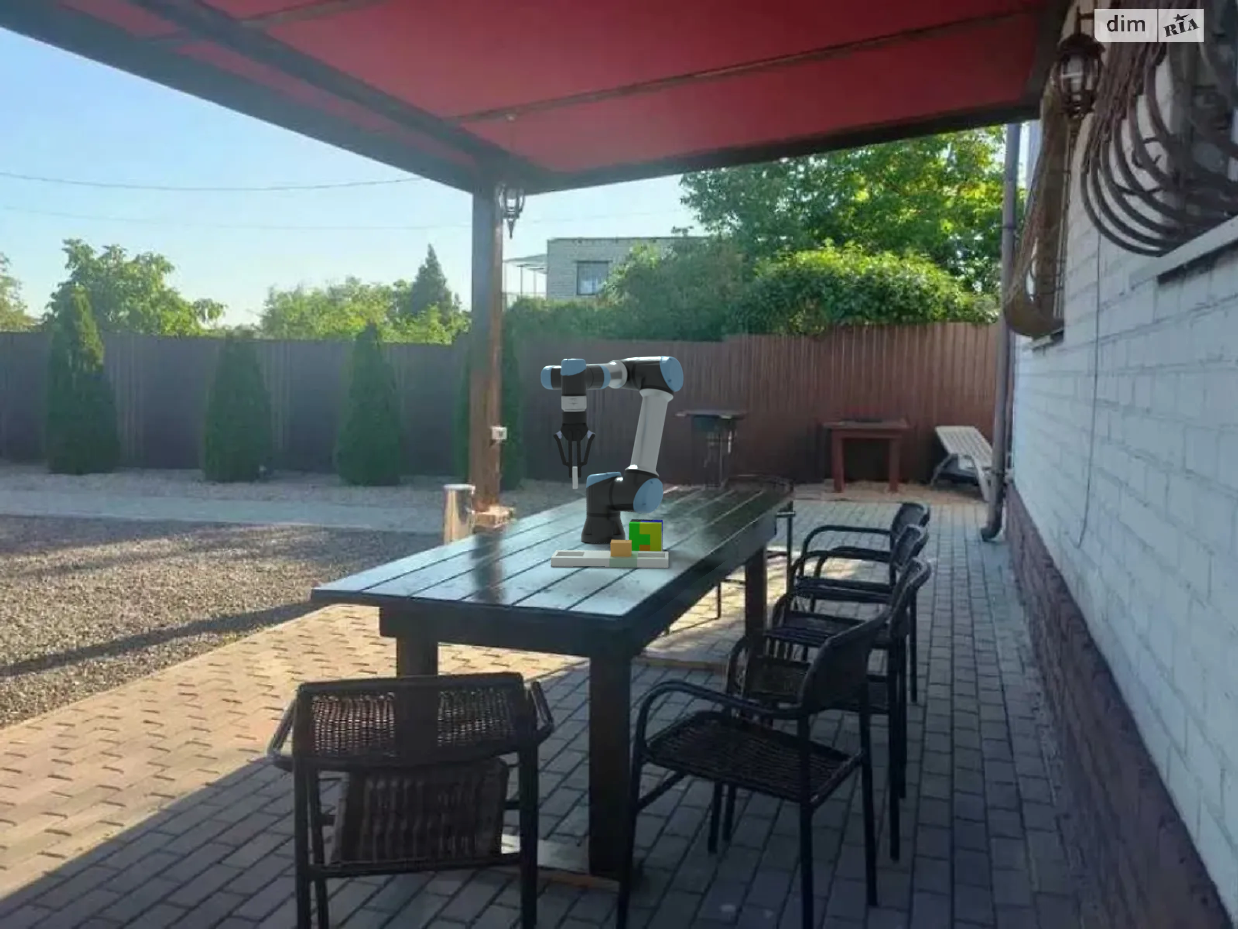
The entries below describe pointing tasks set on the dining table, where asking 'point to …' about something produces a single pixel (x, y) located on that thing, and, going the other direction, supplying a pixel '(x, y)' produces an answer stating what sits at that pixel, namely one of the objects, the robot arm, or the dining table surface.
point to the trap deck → (609, 559)
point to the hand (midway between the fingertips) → (575, 488)
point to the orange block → (621, 548)
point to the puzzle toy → (646, 534)
